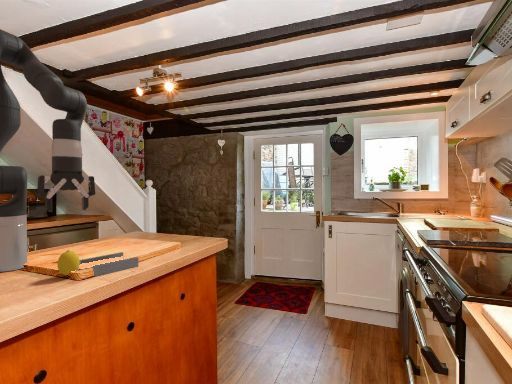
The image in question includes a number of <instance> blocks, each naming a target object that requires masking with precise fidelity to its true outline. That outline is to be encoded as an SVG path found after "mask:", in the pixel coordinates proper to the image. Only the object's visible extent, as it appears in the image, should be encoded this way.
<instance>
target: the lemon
mask: <svg viewBox="0 0 512 384" xmlns="http://www.w3.org/2000/svg"><path fill="white" fill-rule="evenodd" d="M79 260H80V256H79V255H78V253H76V252H75V251H72V250H70V249H67V250H66V251H65V252H63V253H62V254H60V255H59V257H58V260H57V269H58V271H59V273H60V274H62V275H65V276H66V275H68V274H69V272H71V271H75V270H77V269H78V270H79V265H80V261H79ZM78 270H77V271H78Z"/></svg>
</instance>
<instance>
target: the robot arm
mask: <svg viewBox="0 0 512 384" xmlns="http://www.w3.org/2000/svg"><path fill="white" fill-rule="evenodd" d="M1 62H2V63H5V64H9V65H13V66H16V67H18V68H20V69H21V70H22V73H23V76H24V78H25V80H26V81H27V82H28V84H29V85H31V87H33V89H35V90H36V91H38V92H39V94H40V96H41V98H42V100H43V101H44V103H45V104H46V105H47V106H49V107H50V108H52V109H54V110H58V111H61V112H65V113H66V115H65V118H58V119H54V120H53V121H52V125H51V129H52V132H51V133H52V141H51V174H50V175H42V174H40V175H38V176H37V188H36V189H37V191H36V196H38V197H40V198H44V199H45V209H46V210H47V212H49V213H53V211H54V210H53V205H54V203H53V201H54V199H53V197H54V196H55V194H57V192H58V191H77V192H78V193H79V194H80V196H81V210H82V211H86V210H87V209H89V206H90V205H89V202H90V201H89V199H90V197H93V196H95V195H96V185H95V176H93V175H88V176H84V175H83V148H82V147H83V146H82V130H81V129H82V125H83V122H84V118H85V115H86V112H87V108H88V102H87V98H86V97H85V95H84V93H83V92H82V91H80V90H77V89H74V88H71V87H69V86H66V85H64V83H63V81H62V80H61V78H60V77H59V76H58V75H57V74H55V73H54V72H53V71H52V70H50V68H48V67H47V66H46V65H45V64H43V62H41V60H39V58H38V57H37V56H36V55H35V53H34V52H33V50H31V49H30V47H29V46H28V45H27V43H26V42H25V41H24V40H22V39H21V38H20V37H19V36H17V35H15V34H12V33H11V32H7V31H5V30H3V29H1V28H0V153H1V152H2V151H3V149H4V148H5V146H6V145H7V144H8V142H9V141H10V140H12V138H13V137H14V136H15V135H16V134H17V132H18V131H19V129H20V127H21V124H22V123H21V120H22V119H21V118H22V117H21V104H20V102H19V100H18V98H17V96H16V95H15V93H14V92H13V90H12V89H11V87H10V85H9V83H8V82H7V81H6V79H5V75H4V73H3V68H2V63H1ZM49 181H50V182H51V183H52V184H53V186H51V188H50V189H49V190H48V191H47V193H46V192H45V184H47V183H48V182H49ZM84 181H85V183H86V184H87V188H88V192H87V191H86V190H85V188H84V187H83V186H82V184H83V182H84ZM0 195H12V196H11V198H10V199H8V200H7V201H4V202H2V203H0V272H1V273H2V272H10V271H16V270H20V269H23V268H25V267H24V266H23V264H25V263H27V264H28V228H27V227H28V226H27V225H28V223H27V222H28V221H27V217H28V216H27V205H28V204H27V199H28V197H27V195H28V172H27V170H26V168H24V166H20V165H19V166H17V165H0Z"/></svg>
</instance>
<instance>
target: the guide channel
mask: <svg viewBox="0 0 512 384" xmlns="http://www.w3.org/2000/svg"><path fill="white" fill-rule="evenodd" d="M121 256H123V257H124V252H123V251H121V252H120V251H119V252H115V253H110V254H104V255H99V256H95V257H88V258H84V259H79V261H80V264H82V263H89V262H93V261H98V260H103V259H109V258H115V257H121ZM136 267H139V257H138V256H136V257H135V256H134V257H129V258H123V260H119V261H115V262H110V263H105V264H100V265H95V266H93V267H92V272H93V271H94V276H93V277H99V276H104V275H107V274H111V273H116V272H119V271H121V272H122V271H125V270H128V269H132V268H136Z"/></svg>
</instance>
